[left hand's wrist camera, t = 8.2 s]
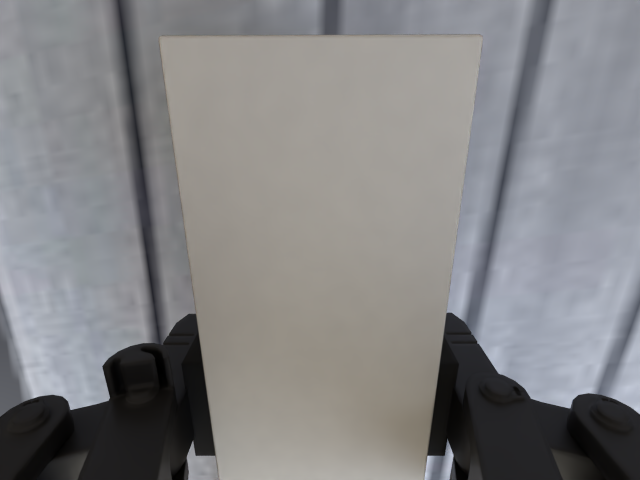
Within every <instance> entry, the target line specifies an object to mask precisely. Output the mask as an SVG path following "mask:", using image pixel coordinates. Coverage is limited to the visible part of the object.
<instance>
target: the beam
mask: <svg viewBox="0 0 640 480" xmlns="http://www.w3.org/2000/svg"><path fill="white" fill-rule="evenodd" d="M482 43H483V36H482V35H480V34H472V35H170V36H160V37H159V46H160V53H161V61H162V68H163V75H164V82H165V90H166V97H167V104H168V112H169V119H170V126H171V134H172V141H173V148H174V156H175V163H176V170H177V177H178V185H179V192H180V199H181V207H182V214H183V221H184V229H185V236H186V243H187V251H188V258H189V265H190V272H191V280H192V287H193V294H194V302H195V309H196V316H197V324H198V331H199V338H200V346H201V353H202V360H203V367H204V375H205V382H206V389H207V397H208V404H209V411H210V419H211V426H212V433H213V441H214V448H215V455H216V462H217V470H218V477H219V480H424V477H425V470H426V462H427V455H428V447H429V440H430V432H431V425H432V417H433V410H434V402H435V395H436V387H437V380H438V372H439V365H440V357H441V350H442V342H443V335H444V327H445V320H446V312H447V305H448V297H449V290H450V282H451V275H452V267H453V260H454V252H455V245H456V237H457V230H458V222H459V215H460V207H461V200H462V192H463V185H464V177H465V170H466V163H467V155H468V148H469V140H470V133H471V125H472V118H473V110H474V103H475V95H476V88H477V80H478V73H479V65H480V58H481V50H482Z"/></svg>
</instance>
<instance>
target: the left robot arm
mask: <svg viewBox="0 0 640 480" xmlns="http://www.w3.org/2000/svg"><path fill="white" fill-rule="evenodd" d="M102 367H103V371H104V375H105V379H106V383H107V387H108V391H109V395H110V399H109V401H106V402H103V403H100V404H96V405H91V406H87V407H83V408H78V409H74V410H70V407H69V404H68V401H67V400H66V399H64V398H63V397H62V396H56V395H48V396H40V397H37V398H33V399H30V400H28V401H25V402H23V403H21V404H19V405H17V406H15V407H13V408H11V409H10V410H8V411H7V412H6V413H5V414H3V415H2V416H1V417H0V480H188V474H189V470H188V463H187V454H188V452H189V449H190V446H191V444H192V441H193V442H194V448H195V454H196V456H216V455H215V448H214V441H213V433H212V426H211V419H210V411H209V404H208V397H207V389H206V382H205V375H204V367H203V360H202V353H201V346H200V338H199V331H198V324H197V316H196V314H188V315H187V316H185V317H184V318H183V319H181V320H180V321H179V322H177V323H176V324H175V326H174V327H173V329H172V330H171V332H170V334H169V336H168V337H167V338H166V340H165V341H164V343H163V345H159V344H155V343H142V344H138V345H134V346H130V347H128V348H125V349H123V350H121V351H118V352H117V353H116V354H114V355H113V356H111V357H110V358H109V359H108V360H107V361H106V362H105V364H104V365H103V366H102ZM447 438H448V441H449V444H450V446H451V449H452V452H453V454H454V457H453V463H452V469H451V475H450V480H640V414H638V413H637V412H636V411H635V410H633V409H632V408H631V407H629V406H627V405H625V404H623V403H621V402H619V401H617V400H615V399H612V398H609V397H606V396H603V395H598V394H590V393H588V394H582V395H578V396H577V397H576V398H575V399H574V400H573V401H572V405H571V408H570V409H569V408H565V407H560V406H556V405H551V404H547V403H543V402H539V401H536V400H533V399H531V398H530V396H529V395H528V393H527V392H526V390H525V389H524V388H523V387H522V386H520V385H519V384H518V383H517V382H516V381H514V380H512V379H510V378H508V377H506V376H504V375H500V374H498V372H497V371H496V369H495V368H494V366H493V365H492V363H491V362H490V360H489V359H488V357H487V356H486V354H485V353H484V351H483V350H482V348H481V347H480V345H479V344H477V341H476V339H475V338H474V336H473V335H471V331H470V330H469V328H468V327H467V325H466V324H465V322H464V321H462V320H461V319H459V318H458V317H457V316H455V315H454V314H453V313H446V320H445V327H444V335H443V342H442V350H441V357H440V365H439V372H438V380H437V387H436V395H435V402H434V410H433V417H432V425H431V432H430V440H429V447H428V455H427V456H445V450H446V443H447Z"/></svg>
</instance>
